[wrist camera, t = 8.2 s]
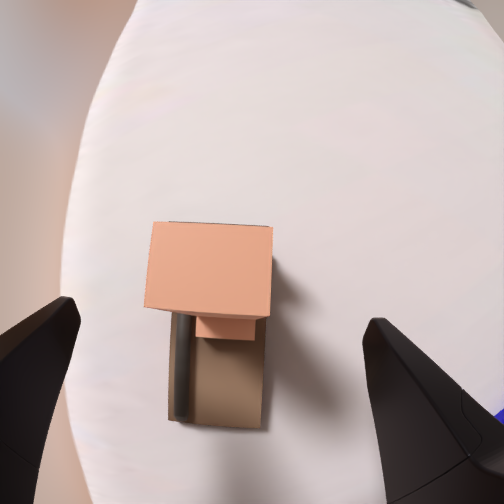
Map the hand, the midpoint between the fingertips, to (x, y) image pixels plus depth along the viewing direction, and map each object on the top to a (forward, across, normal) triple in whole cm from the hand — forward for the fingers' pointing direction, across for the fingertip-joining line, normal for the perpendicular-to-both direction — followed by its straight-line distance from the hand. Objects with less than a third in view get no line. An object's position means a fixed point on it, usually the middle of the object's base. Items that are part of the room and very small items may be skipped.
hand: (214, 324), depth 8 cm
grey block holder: (+6, +1, +6) cm, 8 cm away
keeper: (+6, 0, +4) cm, 7 cm away
